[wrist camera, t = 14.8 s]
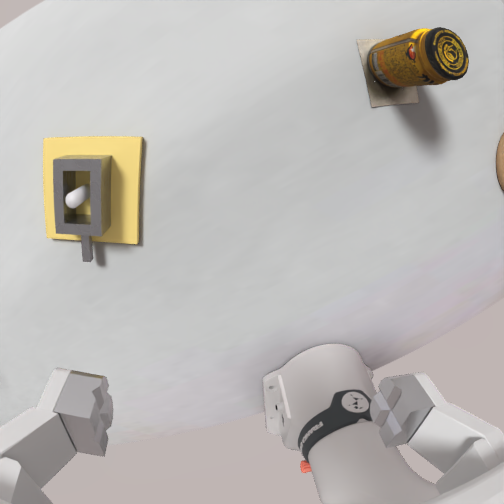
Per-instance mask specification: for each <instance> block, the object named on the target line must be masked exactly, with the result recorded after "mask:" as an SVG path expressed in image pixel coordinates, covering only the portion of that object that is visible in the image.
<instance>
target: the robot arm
mask: <svg viewBox="0 0 504 504" xmlns="http://www.w3.org/2000/svg"><path fill="white" fill-rule="evenodd" d="M372 378H373V372H372V370H371V369H370V368H369V367H368V366H366V365H364V363H363V361H362V358H361V356H360V354H359V353H358V352H357V351H356V350H355V349H354V348H352V347H350V346H347V345H343V344H324V345H320V346H316V347H313V348H310V349H308V350H306V351H304V352H302V353H300V354H298V355H297V356H295V357H294V358H292V359H291V360H290V361H289V362H288V363H287V364H285V365H284V366H283V367H282V368H280V369H278V370H276V371H273V372H271V373H269V374H267V375H266V376H264V378H263V380H262V381H263V395H264V408H265V422H266V429H267V432H268V433H270V434H274V435H278V436H281V437H282V441H283V444H284V446H285V447H287V448H288V449H291V450H297V451H300V452H301V454H302V456H304V458H305V461H301V466H300V467H301V471H302V472H303V473H306V472H310V471H312V474H313V477H314V481H315V484H316V487H317V491H318V494H319V498H320V501H321V502H322V503H323V504H504V434H503V433H502V431H501V430H500V429H499V428H497V427H495V426H493V425H491V424H489V423H488V422H486V421H484V420H482V419H480V418H478V417H476V416H475V415H473V414H471V413H469V412H467V411H465V410H463V409H462V408H460V407H458V406H456V405H454V404H452V403H447V402H446V400H445V399H444V398H443V396H442V395H441V393H440V392H439V391H438V389H437V388H436V387H435V385H434V384H433V382H432V381H431V380H430V378H429V377H428V376H427V374H425V373H423V372H418V373H413V374H406V375H399V376H393V377H387V378H384V379H383V380H382V381H381V383H380V385H379V389H380V391H379V392H378V393H377V392H376V390H375V387H374V385H373V383H372V380H371V379H372ZM108 387H109V385H108V381H107V377H105V376H100V375H95V374H89V373H84V372H78V371H73V370H67V369H62V368H58V367H57V368H56V369H55V370H54V371H53V372H52V374H51V376H50V379H49V381H48V383H47V385H46V387H45V389H44V391H43V394H42V396H41V398H40V400H39V403H38V405H37V407H36V408H35V407H31V408H29V409H28V410H26V411H25V412H23V413H21V414H20V415H18V416H17V417H15V418H14V419H12V420H11V421H9V422H8V423H6V424H4V425H3V426H1V427H0V504H53V503H52V502H51V500H50V499H49V498H48V497H47V496H46V495H45V494H44V493H43V492H42V491H41V488H42V487H43V486H44V485H45V484H46V483H48V481H50V480H51V479H52V478H53V477H54V476H55V475H56V474H57V473H58V472H59V471H60V470H61V469H62V468H63V467H64V466H65V465H66V464H67V463H68V462H69V461H70V460H71V459H72V458H73V457H74V456H75V455H76V454H77V452H80V453H86V454H91V455H97V456H105V452H106V447H107V443H108V436H107V433H106V430H107V429H108V428H110V427H111V424H112V419H113V402H112V397H111V396H110V395H109V394H108V393H107V390H108ZM406 443H408V444H407V445H408V446H410V447H411V448H412V449H413V450H415V451H416V452H417V453H418V454H420V455H421V456H422V457H424V458H425V459H426V460H427V461H429V462H430V463H431V464H432V465H434V466H435V467H436V468H438V469H439V470H440V471H441V472H443V473H444V475H443V476H442V477H441V478H440V479H439V480H438V481H437V483H436V484H434V483H432V482H429V481H427V480H425V479H424V478H422V477H421V476H419V475H418V474H417V473H416V472H414V471H413V470H412V469H411V468H410V466H409V465H408V464H407V462H406V461H405V459H404V458H403V456H402V455H401V453H400V452H399V450H398V449H397V447H396V446H398V445H402V444H406Z"/></svg>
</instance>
